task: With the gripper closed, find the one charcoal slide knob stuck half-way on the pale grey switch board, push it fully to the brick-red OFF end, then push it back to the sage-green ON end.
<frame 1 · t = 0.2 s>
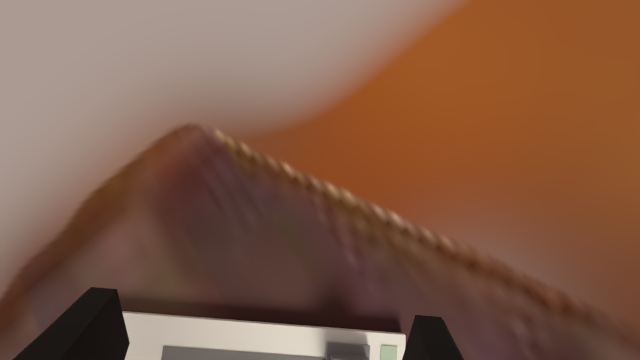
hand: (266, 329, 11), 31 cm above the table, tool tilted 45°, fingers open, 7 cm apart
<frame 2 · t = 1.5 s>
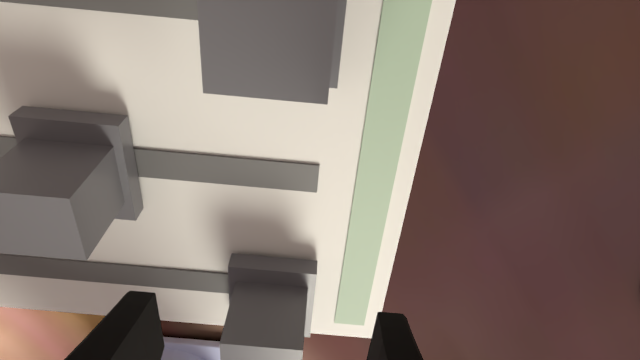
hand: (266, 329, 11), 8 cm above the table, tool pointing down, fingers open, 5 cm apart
knob c: (276, 26, 12), point 4 cm above the table, slide at 0.0 cm
tripped knob: (60, 190, 15), point 4 cm above the table, slide at 7.0 cm
knob a: (267, 325, 19), point 4 cm above the table, slide at 0.0 cm
switch board: (81, 135, 18), on the table
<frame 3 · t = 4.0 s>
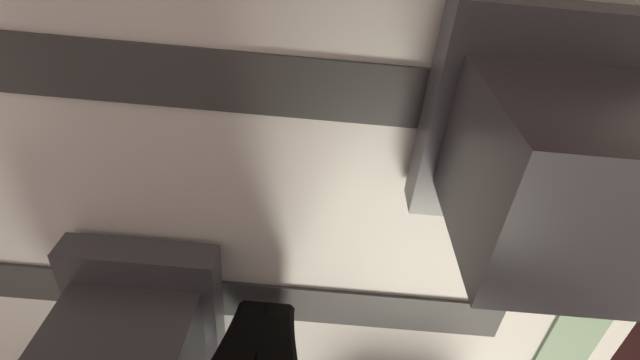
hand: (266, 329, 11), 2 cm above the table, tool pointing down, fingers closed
knob c: (560, 164, 7), point 4 cm above the table, slide at 0.0 cm
switch board: (159, 250, 13), on the table
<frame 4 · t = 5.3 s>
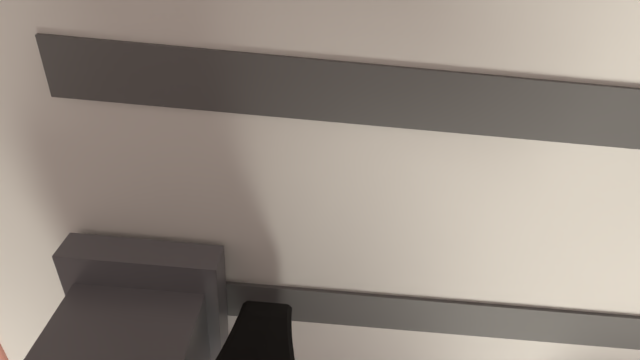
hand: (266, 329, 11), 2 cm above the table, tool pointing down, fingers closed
switch board: (385, 270, 13), on the table
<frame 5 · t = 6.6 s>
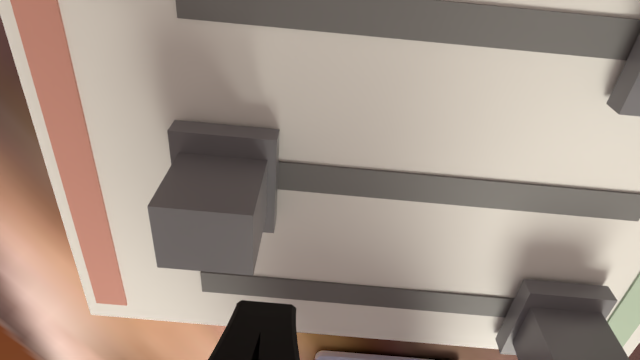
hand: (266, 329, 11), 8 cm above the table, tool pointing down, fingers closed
tripped knob: (217, 204, 15), point 4 cm above the table, slide at 14.1 cm
knob a: (566, 350, 19), point 4 cm above the table, slide at 0.0 cm
switch board: (389, 163, 18), on the table
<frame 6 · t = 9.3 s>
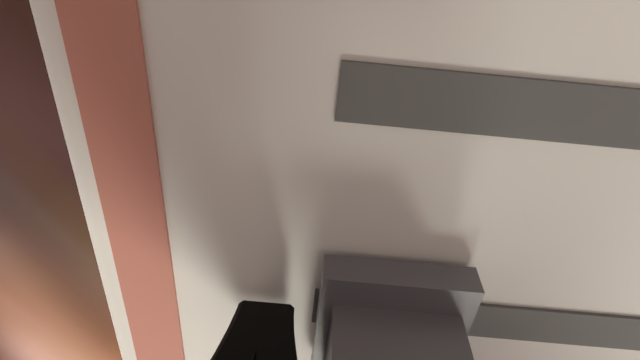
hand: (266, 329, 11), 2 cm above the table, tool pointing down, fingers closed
switch board: (571, 286, 13), on the table
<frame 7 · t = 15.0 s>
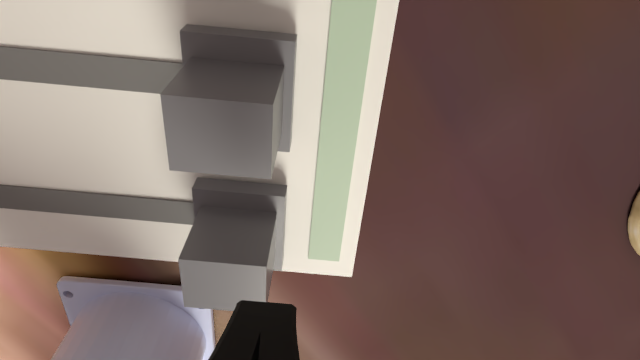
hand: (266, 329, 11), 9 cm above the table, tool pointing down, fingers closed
tripped knob: (232, 110, 14), point 4 cm above the table, slide at -0.1 cm
knob a: (234, 250, 18), point 4 cm above the table, slide at 0.0 cm
switch board: (37, 49, 17), on the table
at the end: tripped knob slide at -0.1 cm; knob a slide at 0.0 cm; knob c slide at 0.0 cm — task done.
